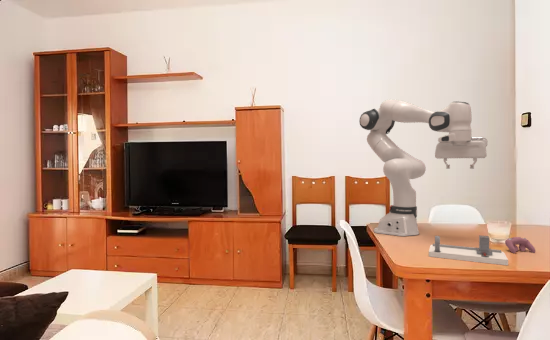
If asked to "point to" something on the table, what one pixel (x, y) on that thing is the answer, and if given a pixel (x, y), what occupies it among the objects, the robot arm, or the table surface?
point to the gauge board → (465, 253)
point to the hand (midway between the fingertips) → (459, 168)
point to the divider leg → (483, 246)
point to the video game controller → (521, 242)
